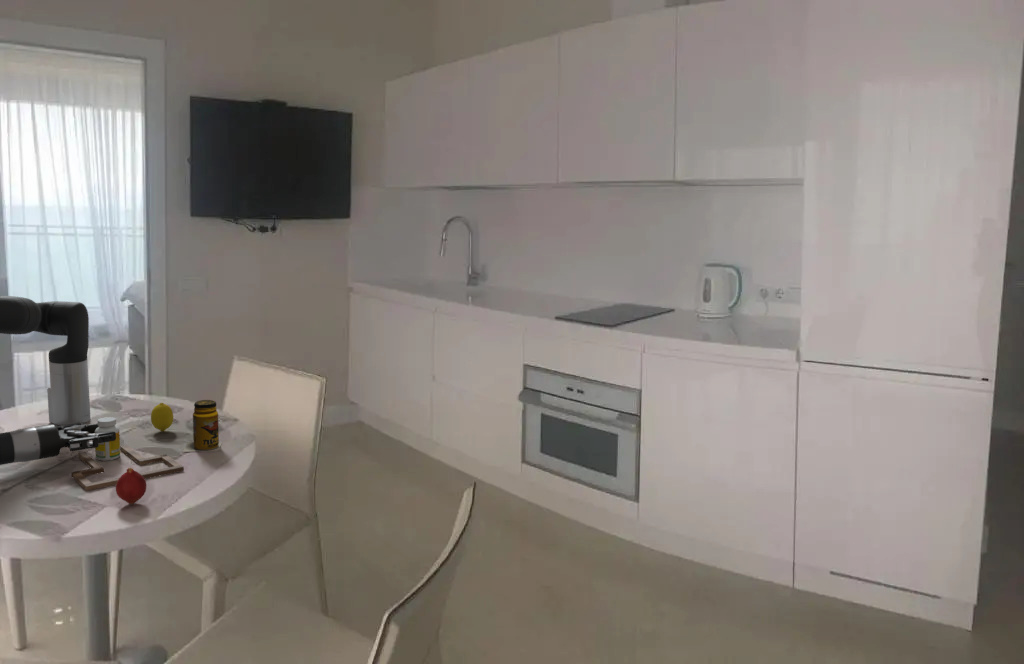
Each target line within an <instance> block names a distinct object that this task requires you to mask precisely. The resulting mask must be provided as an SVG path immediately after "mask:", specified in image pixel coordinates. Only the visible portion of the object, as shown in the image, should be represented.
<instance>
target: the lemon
mask: <svg viewBox="0 0 1024 664" xmlns="http://www.w3.org/2000/svg"><path fill="white" fill-rule="evenodd" d="M150 421H151V425H152V426H153V428H154V429H156V430H159V431H160V432H162V433H163V432H165V431H166V430H167V429H169V428H170V427H171V426H172V425H173V423H174V412H173V410H172V408H171V406H169V405H168V404H166V403H164V402H160V403H159V404H156V405H155V406H154V407H153V408H152V411H151V413H150Z"/></svg>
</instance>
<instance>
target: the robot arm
mask: <svg viewBox="0 0 1024 664" xmlns="http://www.w3.org/2000/svg"><path fill="white" fill-rule="evenodd" d="M89 320H90V318H89V312H88V309H87V307H86V305H85V304H84V303H82V302H80V301H79V302H78V301H59V300H57V301H56V300H54V301H53V300H51V301H44V302H36V301H34V300H32V299H31V298H28V297H21V296H12V295H0V334H3V335H4V334H5V335H27V334H30V333H32V332H36V333H41V334H45V335H51V336H61V337H62V336H65V337H66V338H67V339H66V342H65V344H64V345H62V346H58V347H54V348H53V349H50V350H49V351H48V368H49V383H50V384H49V385H50V387H47V406H48V408H47V409H48V422H49V424H45V425H44V424H43V425H38V426H31V427H24V428H19V429H16V430H15V429H14V430H12V431H6V432H0V466H3V465H8V464H13V463H25V462H31V461H37V460H42V459H49V458H54V457H58V456H59V455H60V453H61V450H62V449H64V448H68V449H69V451H70V452H76V451H83V450H89V449H90V450H91V449H95V448H97V447H99V443H104V442H110V441H115V440H116V433H115V432H114V431H111V432H105V433H98V434H95V430H96V428H98V427H99V426H98V425H97V424H98V422H96V423H90V424H86V423H88V422H90V421H91V402H90V401H91V400H90V388H89V387H90V386H89V385H90V384H89V383H90V382H89V381H90V380H89V365H88V364H89V363H88V353H89V330H90V329H89V327H90V325H89V324H90V323H89V322H90V321H89ZM50 423H51V424H50Z"/></svg>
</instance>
